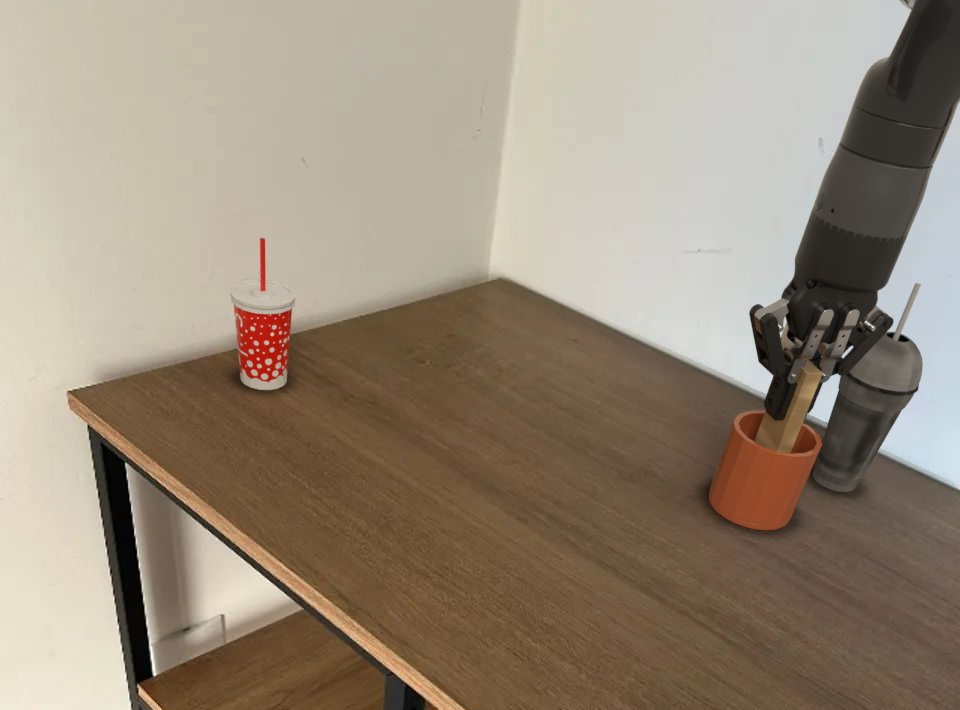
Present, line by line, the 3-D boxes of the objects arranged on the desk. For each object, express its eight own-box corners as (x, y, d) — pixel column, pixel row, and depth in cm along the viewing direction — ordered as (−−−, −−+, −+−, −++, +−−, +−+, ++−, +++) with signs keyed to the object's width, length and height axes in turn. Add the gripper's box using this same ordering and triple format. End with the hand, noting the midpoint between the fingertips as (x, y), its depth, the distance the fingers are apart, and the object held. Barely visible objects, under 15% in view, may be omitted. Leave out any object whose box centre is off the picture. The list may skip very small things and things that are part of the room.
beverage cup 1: (240, 361, 100) (236, 222, 90) (299, 370, 100) (302, 232, 91) (226, 388, 95) (220, 245, 86) (288, 397, 95) (289, 256, 86)
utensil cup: (763, 481, 96) (791, 409, 91) (806, 527, 91) (838, 454, 86) (694, 485, 94) (718, 411, 89) (733, 533, 88) (762, 457, 83)
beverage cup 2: (799, 488, 96) (881, 293, 83) (798, 454, 102) (875, 265, 88) (871, 507, 95) (966, 312, 82) (867, 471, 101) (955, 283, 88)
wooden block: (749, 489, 93) (801, 353, 84) (768, 509, 91) (823, 372, 82) (735, 490, 93) (786, 354, 84) (753, 510, 90) (807, 373, 81)
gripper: (814, 231, 70) (739, 440, 81) (962, 236, 74) (871, 434, 86) (762, 195, 75) (698, 397, 86) (903, 202, 79) (825, 393, 91)
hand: (784, 415), depth 86 cm, fingers closed on wooden block, 1 cm apart
